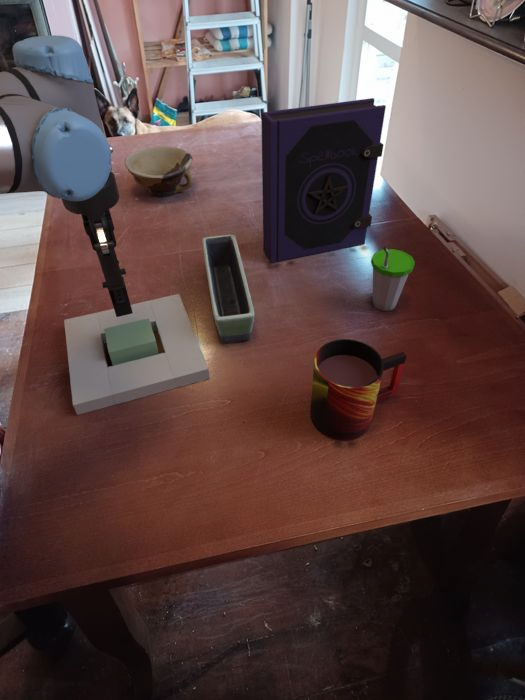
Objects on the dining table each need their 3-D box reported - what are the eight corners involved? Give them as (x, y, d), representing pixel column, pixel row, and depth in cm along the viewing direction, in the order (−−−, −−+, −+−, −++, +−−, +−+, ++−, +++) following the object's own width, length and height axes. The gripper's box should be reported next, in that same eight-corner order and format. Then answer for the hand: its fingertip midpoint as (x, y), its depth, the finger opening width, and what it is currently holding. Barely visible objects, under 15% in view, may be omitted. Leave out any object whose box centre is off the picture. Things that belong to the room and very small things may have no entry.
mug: (396, 397, 78) (411, 343, 69) (349, 452, 70) (359, 399, 62) (346, 369, 82) (355, 316, 74) (297, 418, 75) (300, 365, 67)
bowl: (119, 203, 128) (111, 168, 121) (150, 175, 140) (143, 141, 133) (180, 211, 124) (174, 176, 117) (205, 181, 136) (202, 148, 129)
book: (271, 264, 106) (271, 122, 85) (262, 249, 110) (260, 111, 89) (367, 245, 111) (389, 106, 90) (355, 231, 115) (373, 96, 94)
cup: (392, 289, 99) (407, 223, 88) (411, 312, 93) (428, 245, 83) (358, 296, 97) (368, 230, 87) (374, 320, 92) (387, 253, 81)
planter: (256, 345, 87) (255, 314, 82) (217, 350, 86) (214, 320, 81) (236, 261, 107) (234, 233, 102) (204, 265, 106) (201, 236, 101)
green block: (114, 370, 83) (108, 352, 80) (109, 346, 87) (103, 328, 84) (160, 359, 85) (155, 340, 82) (153, 336, 89) (148, 318, 86)
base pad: (77, 415, 76) (72, 405, 74) (67, 329, 91) (63, 319, 89) (210, 378, 81) (208, 368, 80) (180, 303, 96) (178, 293, 94)
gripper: (120, 191, 60) (153, 331, 76) (107, 153, 68) (139, 285, 85) (58, 202, 58) (106, 343, 74) (53, 161, 67) (96, 295, 83)
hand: (124, 312), depth 80 cm, fingers closed
